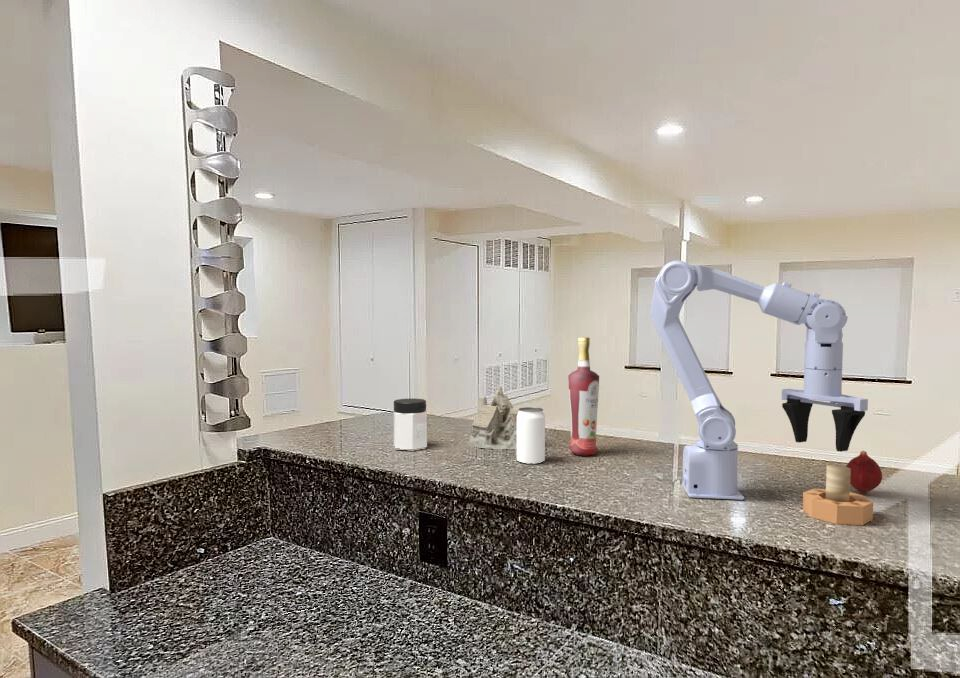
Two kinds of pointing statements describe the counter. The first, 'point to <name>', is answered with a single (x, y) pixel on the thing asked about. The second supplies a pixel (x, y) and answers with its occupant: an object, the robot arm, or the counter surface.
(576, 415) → the liquor
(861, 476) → the onion
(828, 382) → the robot arm
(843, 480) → the dowel
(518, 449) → the can
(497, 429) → the ceramic cottage
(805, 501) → the orange faceted ring
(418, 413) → the jar
